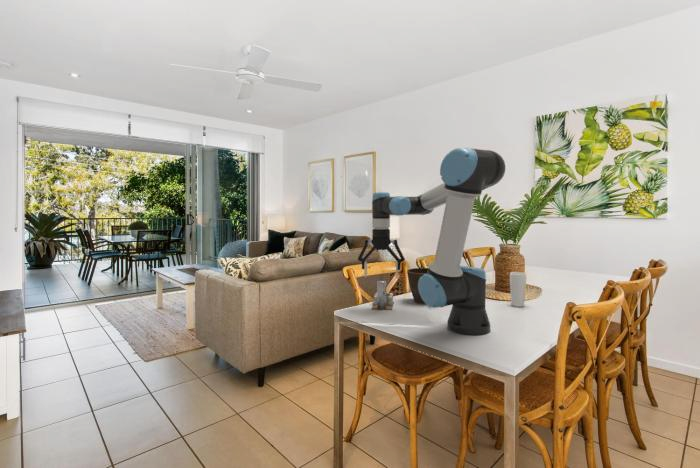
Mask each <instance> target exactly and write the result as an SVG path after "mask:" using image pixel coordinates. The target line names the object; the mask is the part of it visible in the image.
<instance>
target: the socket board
mask: <svg viewBox="0 0 700 468" xmlns="http://www.w3.org/2000/svg"><path fill="white" fill-rule="evenodd" d="M394 303H395V301H394V293H393V292H386V309H385V310H384V311H393V307H394ZM370 309H371V310H372V311H379V310H378V309H377V292H375V294H374V296H373V304H372V307H371V308H370Z"/></svg>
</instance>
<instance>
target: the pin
mask: <svg viewBox="0 0 700 468" xmlns="http://www.w3.org/2000/svg"><path fill="white" fill-rule="evenodd" d="M376 293H377V309H378V310H377V311H386V310H385V309H386V293H387V281H386V280H377V282H376Z"/></svg>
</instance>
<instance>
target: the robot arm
mask: <svg viewBox="0 0 700 468" xmlns="http://www.w3.org/2000/svg"><path fill="white" fill-rule="evenodd" d="M505 173H506V162H505V159H504V157H502V156H501V155H500V154H499V153H498V152H496V151H494V150H491V149H490V150H488V149H478V148H470V147H457V148H454V149H452V150H450V151H449V152H448V153H447V154H446V155H445V156H444V158H443V159H442V162H441V164H440V168H439V174H440V175H439V176H441V180H442V183H440V184H438V185H437V186H435V187H433V188H432V189H430V190H427V191H426V192H424V193H422V194H420V195H418V196H402V195H397V196H391V195H390V192H386V191H385V192H383V191H382V192H380V191H379V192H374V193H373V194H372V201H371V208H372V211H371V212H372V215H371V216H372V218H371V219H372V222H371V223H372V230H371V231H372V238H371V239H368V238H367V239H365V240H364V245H363V248H362V250H361V251H360V253H359V255H358V257H357V261H360V263H361V269H362V270H363V271H364V278H367V277H368V261H366V260H368V258H369V257H370V255H372V253H373V252H374V251H375V250H377V251H380V250H381V251H386V250H387V252H389V254H390V255H391V256H392V258H394V260H395V261H396V262H395V279H398V278H399V271H401V267H402V266H401V263H403V262H405V257H404V255H403V253H402V250H401V249H400V247H399V244H398V240H397V239H394V240H393V239H391V229H390V228H391V216H398V217H399V216H406V215H407V216H410V215H415V216H416V215H421V216H424V215H430V214H431V213H433V211H434V210H435V209H436V208H439V207H441V206H444V205H445V207H444V212H443V216H442V221H441V226H440V230H439V236H438V241H437V247H436V251H435V255H434V261H433V262H431V263H429V265H428V267H427V268H428V272H427V274H424V275H423V276H421V277H420V279H419V281H418V290H419V294H420V296H421V298H422V300H423V301H424V302H425V303H426V304H425V305H427V307H430V308H433V309H434V308H445V307H446V306H447V307H448V306H451V310H450V313H449V315H448V319H447V322H446V323H447V325H446V326H447V329H448V330H450V331H451V332H454V333H456V334H461V335H468V336H469V335H470V336H480V335H486V334H489V333H490V332H491V323H490V319H489V317H488V313H487V309H486V295H487V294H486V292H487V291H486V290H487V289H486V288H487V286H486V285H487V284H486V283H487V278H486V277H487V276H486V274H487V273H486V271H485V269H484V268H481V267H480V268H479V267H474V266H466V265H465V266H464V265H461V262H462V257H463V253H464V248H465V244H466V242H467V241H466V240H467V236H468V232H469V226H470V223H471V218H472V213H473V208H474V204H475V200H476V199H477V198H478V197H479V196H482V192H483V191H484V190H486V189H488V188H491V187H493V186H495V185H497V184H498V183H500V182H501V180H502V179H503V178H504V175H505ZM391 244H392V246H394V248H395V249H396V253H398V256H397V254H396V253H395V252H394V250H393V249H392V248H391V247H390V245H391ZM369 245H372V247H371V249H370V250H369V251H368V252H367V254H365V252H366V250H367V248H368V246H369ZM364 254H365V256H364Z"/></svg>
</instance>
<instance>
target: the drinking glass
mask: <svg viewBox="0 0 700 468" xmlns="http://www.w3.org/2000/svg"><path fill="white" fill-rule="evenodd" d="M526 285H527V273H526V272H522V271H511V272H510V273H509V288H510V290H509V291H510V304H511V306H512V307H516V308H523V307H524V305H525V297H526V295H525V294H526V288H527V287H526Z"/></svg>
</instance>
